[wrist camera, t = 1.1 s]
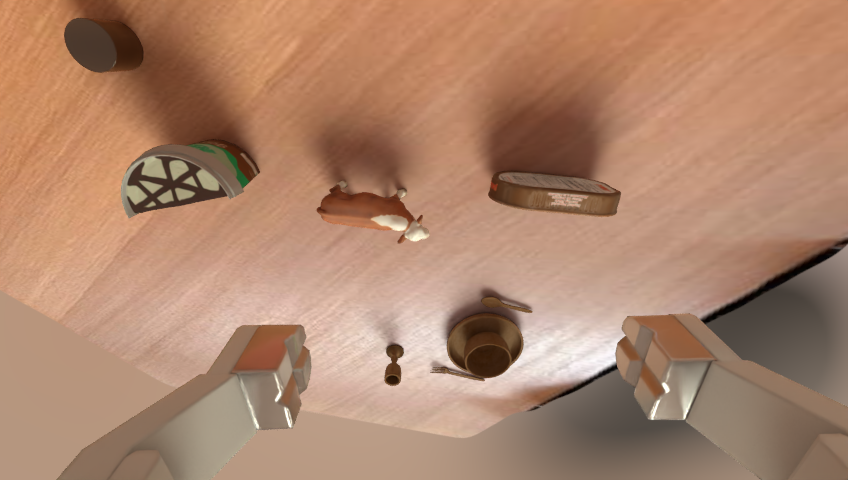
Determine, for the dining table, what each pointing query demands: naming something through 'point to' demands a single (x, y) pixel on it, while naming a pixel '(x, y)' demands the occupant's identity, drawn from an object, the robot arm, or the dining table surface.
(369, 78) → the dining table surface
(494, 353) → the place setting
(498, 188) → the tin
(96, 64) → the brown cylinder
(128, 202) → the food container
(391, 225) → the bull figurine
